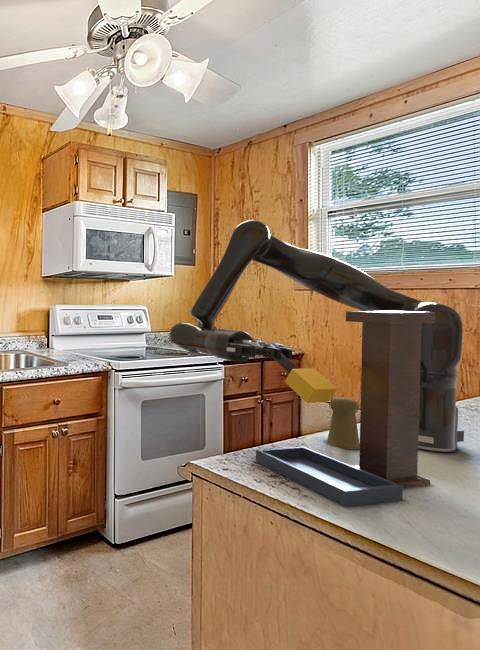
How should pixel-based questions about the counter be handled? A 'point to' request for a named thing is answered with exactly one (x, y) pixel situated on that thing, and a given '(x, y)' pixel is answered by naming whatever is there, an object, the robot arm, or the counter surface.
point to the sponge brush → (306, 381)
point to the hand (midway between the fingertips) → (285, 354)
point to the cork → (344, 424)
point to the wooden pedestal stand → (390, 393)
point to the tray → (330, 476)
